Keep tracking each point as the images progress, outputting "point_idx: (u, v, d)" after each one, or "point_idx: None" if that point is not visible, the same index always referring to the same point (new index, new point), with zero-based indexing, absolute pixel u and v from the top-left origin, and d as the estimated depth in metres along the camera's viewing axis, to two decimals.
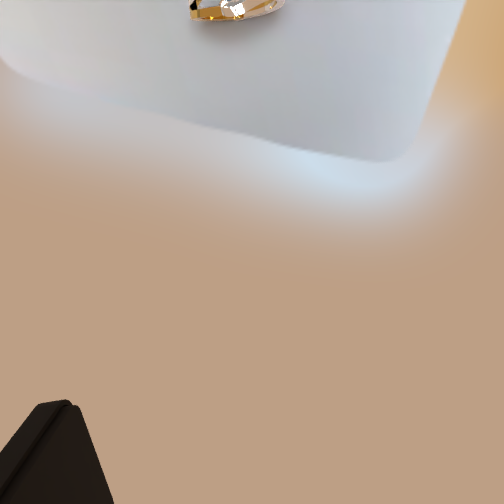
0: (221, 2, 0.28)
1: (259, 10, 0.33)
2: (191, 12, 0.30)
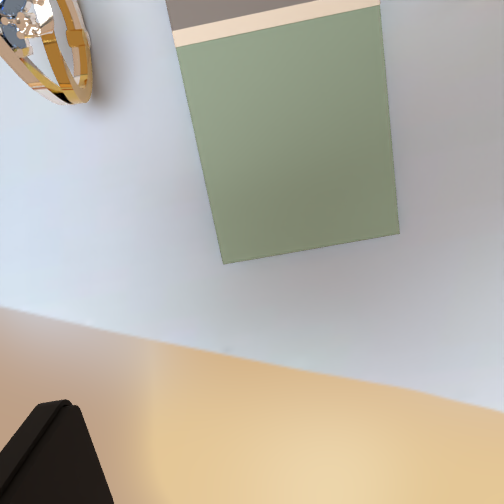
0: None
1: (77, 70, 0.23)
2: None
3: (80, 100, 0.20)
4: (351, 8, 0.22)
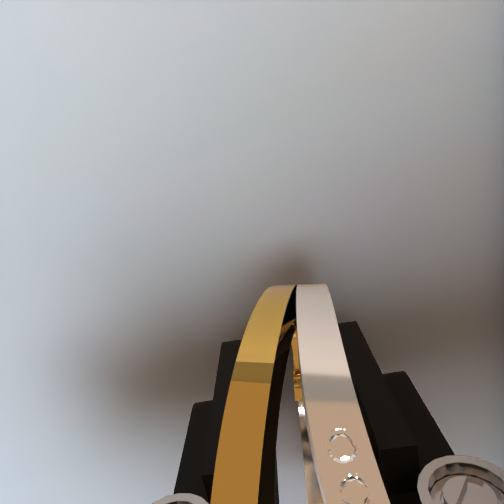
0: None
1: (312, 457, 0.10)
2: (265, 366, 0.05)
3: None
4: None
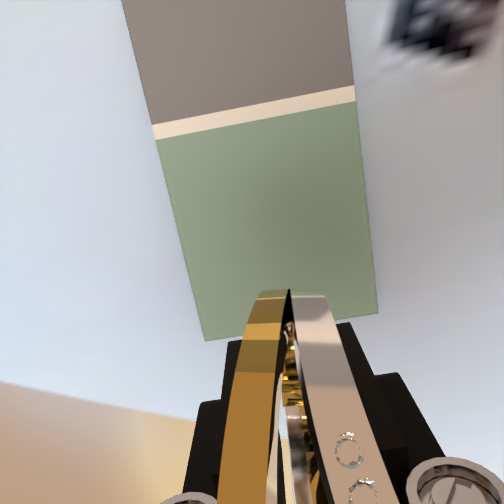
0: None
1: (300, 462, 0.10)
2: (267, 371, 0.05)
3: None
4: (328, 105, 0.23)
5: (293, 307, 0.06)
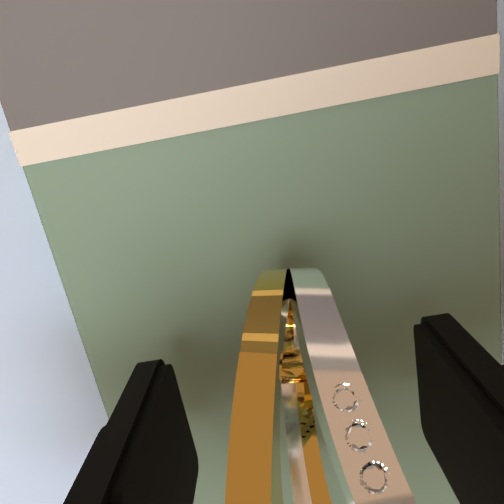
0: None
1: (294, 436, 0.11)
2: (271, 334, 0.06)
3: None
4: (431, 83, 0.09)
5: (293, 281, 0.07)
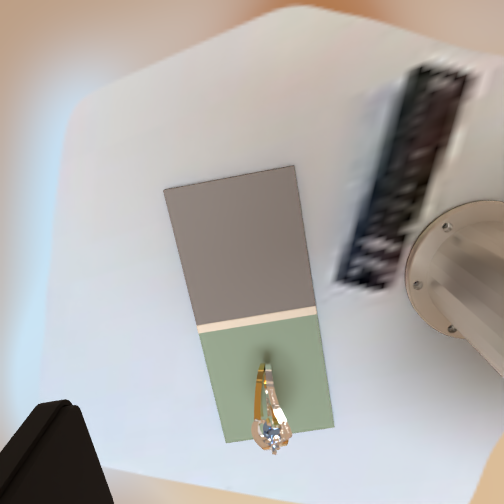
0: (262, 420, 0.34)
1: (268, 402, 0.40)
2: (261, 381, 0.35)
3: None
4: (300, 316, 0.38)
5: (265, 369, 0.36)
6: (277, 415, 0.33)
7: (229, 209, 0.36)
